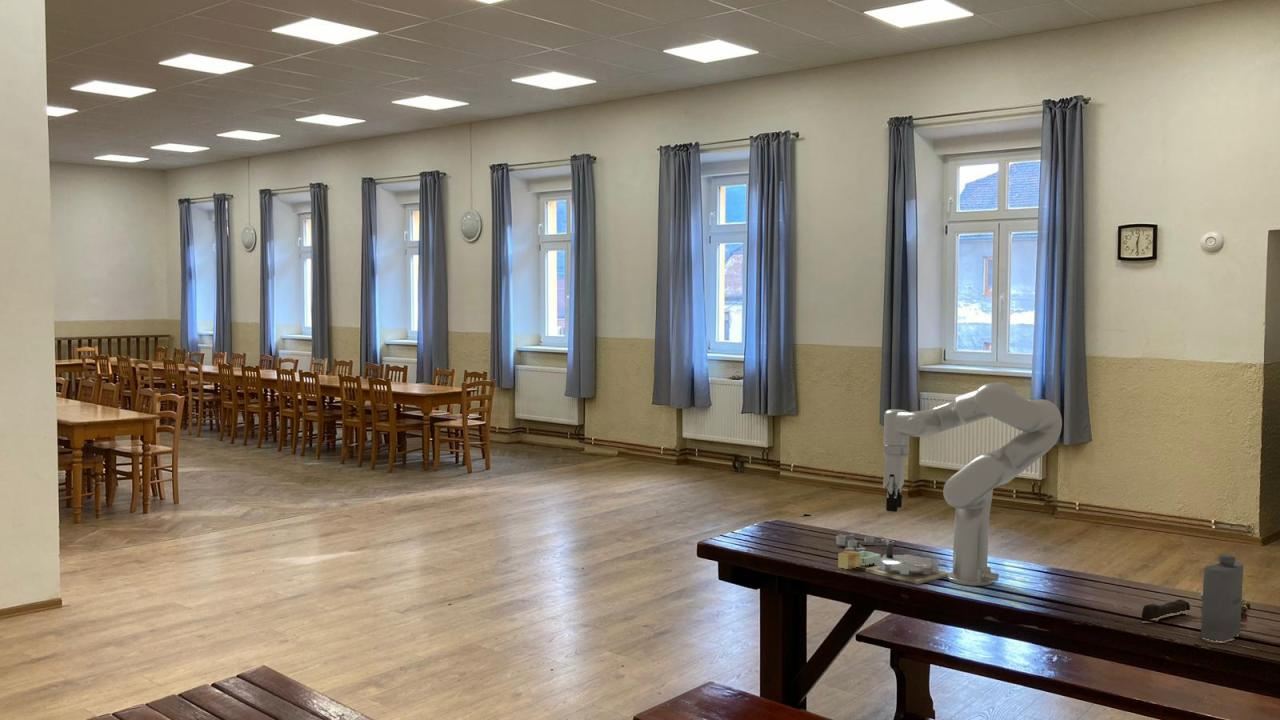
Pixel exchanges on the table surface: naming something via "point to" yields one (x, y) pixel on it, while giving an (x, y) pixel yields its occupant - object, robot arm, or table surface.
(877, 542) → the pulley system
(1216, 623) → the flask
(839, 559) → the yellow block
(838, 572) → the table surface
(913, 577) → the bearing plate
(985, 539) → the robot arm
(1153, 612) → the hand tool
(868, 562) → the seat
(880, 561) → the sprocket
